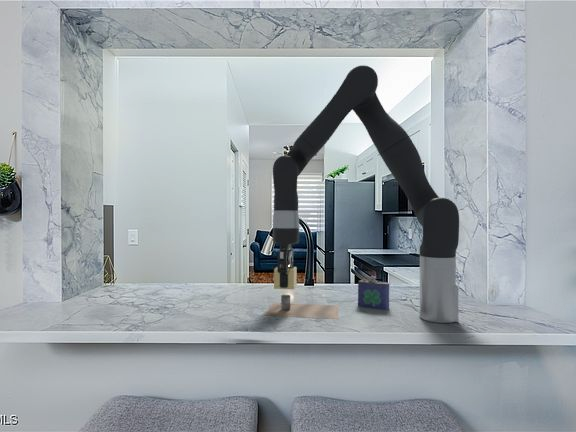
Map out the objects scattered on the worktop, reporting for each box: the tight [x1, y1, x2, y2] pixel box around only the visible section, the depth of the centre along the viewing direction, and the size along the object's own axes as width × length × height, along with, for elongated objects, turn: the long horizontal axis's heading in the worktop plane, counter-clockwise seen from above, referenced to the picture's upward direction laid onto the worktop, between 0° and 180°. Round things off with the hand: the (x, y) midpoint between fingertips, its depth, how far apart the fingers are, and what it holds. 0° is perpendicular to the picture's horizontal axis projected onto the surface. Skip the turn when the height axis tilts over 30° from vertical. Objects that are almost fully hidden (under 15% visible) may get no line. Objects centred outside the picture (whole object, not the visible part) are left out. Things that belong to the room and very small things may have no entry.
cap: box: [273, 265, 298, 290], centre depth 100 cm, size 6×6×6 cm
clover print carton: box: [357, 275, 390, 310], centre depth 103 cm, size 9×3×11 cm, turn 63°
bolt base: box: [262, 294, 340, 320], centre depth 99 cm, size 20×14×6 cm
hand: (285, 285), depth 100 cm, fingers closed on cap, 5 cm apart
